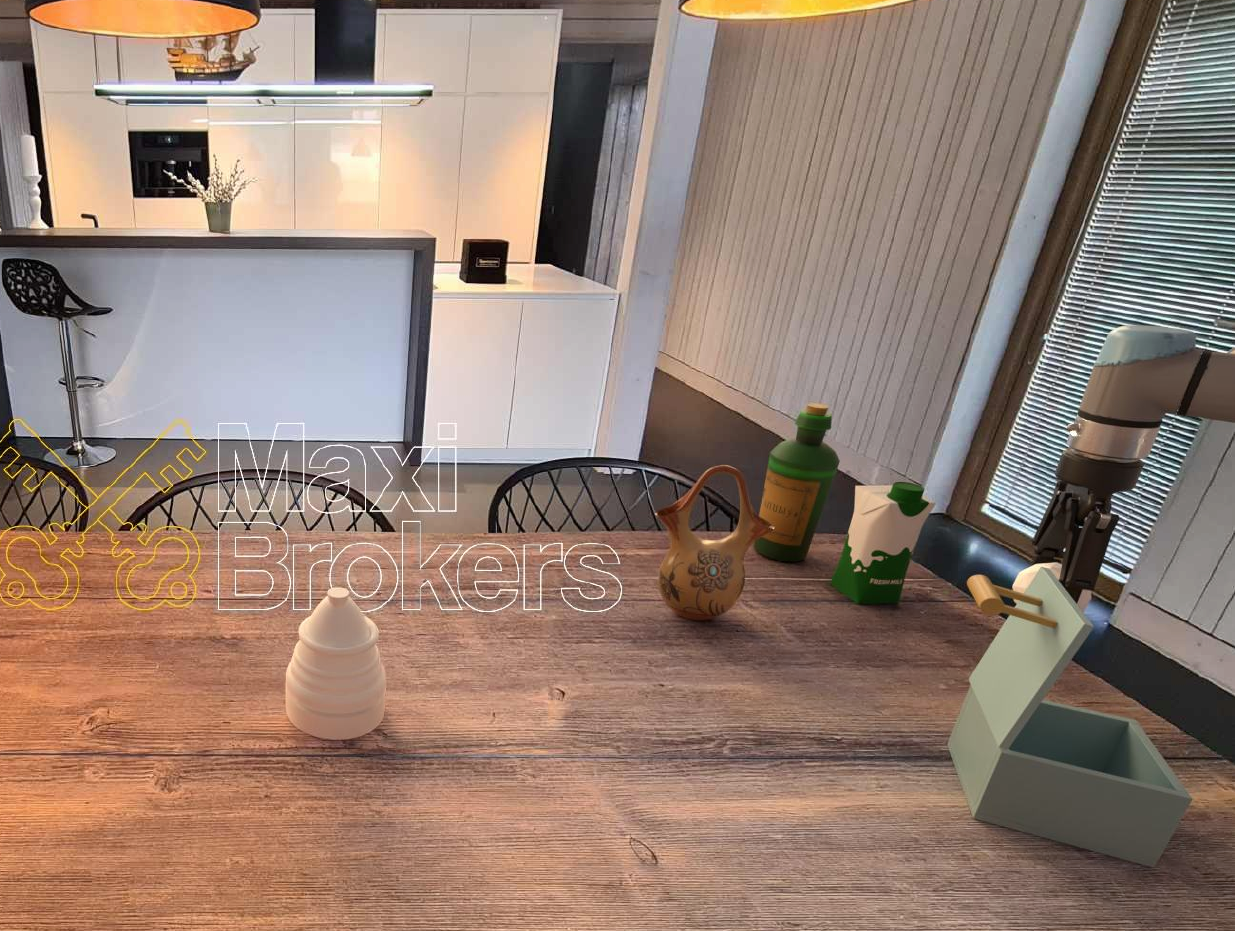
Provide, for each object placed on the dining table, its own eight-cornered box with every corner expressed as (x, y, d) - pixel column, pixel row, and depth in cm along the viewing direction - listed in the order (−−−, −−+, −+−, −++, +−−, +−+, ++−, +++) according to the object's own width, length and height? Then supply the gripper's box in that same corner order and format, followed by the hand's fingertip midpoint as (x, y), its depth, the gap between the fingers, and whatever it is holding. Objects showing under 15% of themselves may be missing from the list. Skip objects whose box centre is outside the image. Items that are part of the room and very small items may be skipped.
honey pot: (386, 742, 98) (394, 613, 91) (281, 737, 99) (281, 609, 91) (383, 681, 110) (389, 562, 103) (289, 677, 110) (289, 559, 103)
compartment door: (1049, 568, 88) (971, 546, 90) (1094, 626, 76) (1003, 599, 79) (976, 681, 95) (905, 658, 97) (1007, 750, 83) (926, 721, 86)
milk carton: (856, 607, 130) (892, 492, 122) (820, 581, 138) (852, 471, 130) (908, 606, 130) (947, 491, 122) (869, 580, 138) (904, 471, 131)
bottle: (734, 542, 152) (769, 398, 141) (787, 540, 154) (825, 397, 143) (770, 567, 143) (810, 414, 132) (826, 565, 144) (870, 413, 133)
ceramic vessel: (639, 620, 125) (669, 469, 116) (635, 594, 133) (662, 450, 124) (755, 637, 121) (796, 481, 111) (744, 609, 129) (781, 461, 119)
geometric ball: (1040, 629, 111) (1089, 586, 109) (1067, 637, 103) (1121, 591, 101) (987, 592, 113) (1034, 549, 111) (1011, 597, 106) (1062, 551, 104)
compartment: (1104, 783, 92) (1136, 719, 89) (1154, 868, 81) (1193, 799, 77) (946, 744, 98) (970, 683, 95) (972, 818, 87) (1001, 752, 84)
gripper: (1040, 429, 110) (987, 577, 119) (1094, 473, 93) (1028, 644, 102) (1112, 436, 107) (1052, 588, 116) (1182, 483, 90) (1105, 658, 99)
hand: (1041, 614), depth 109 cm, fingers closed on geometric ball, 8 cm apart
